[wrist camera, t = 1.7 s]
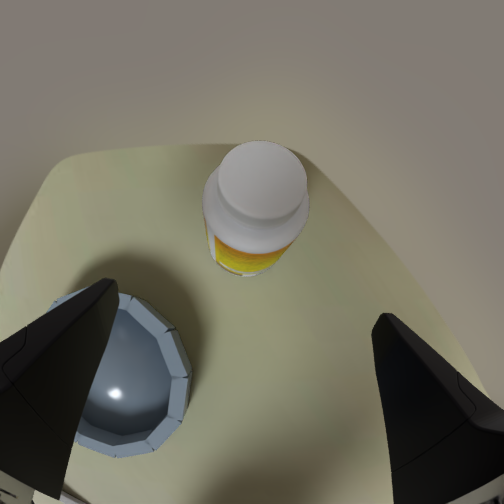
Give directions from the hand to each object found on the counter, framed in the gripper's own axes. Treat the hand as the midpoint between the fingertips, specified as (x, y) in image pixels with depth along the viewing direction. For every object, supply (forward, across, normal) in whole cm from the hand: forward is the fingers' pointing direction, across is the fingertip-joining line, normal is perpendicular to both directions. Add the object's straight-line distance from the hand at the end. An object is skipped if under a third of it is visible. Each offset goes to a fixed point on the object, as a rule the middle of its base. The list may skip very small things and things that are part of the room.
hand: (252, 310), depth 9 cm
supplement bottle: (+13, 0, +5) cm, 13 cm away
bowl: (+4, +9, +12) cm, 16 cm away
